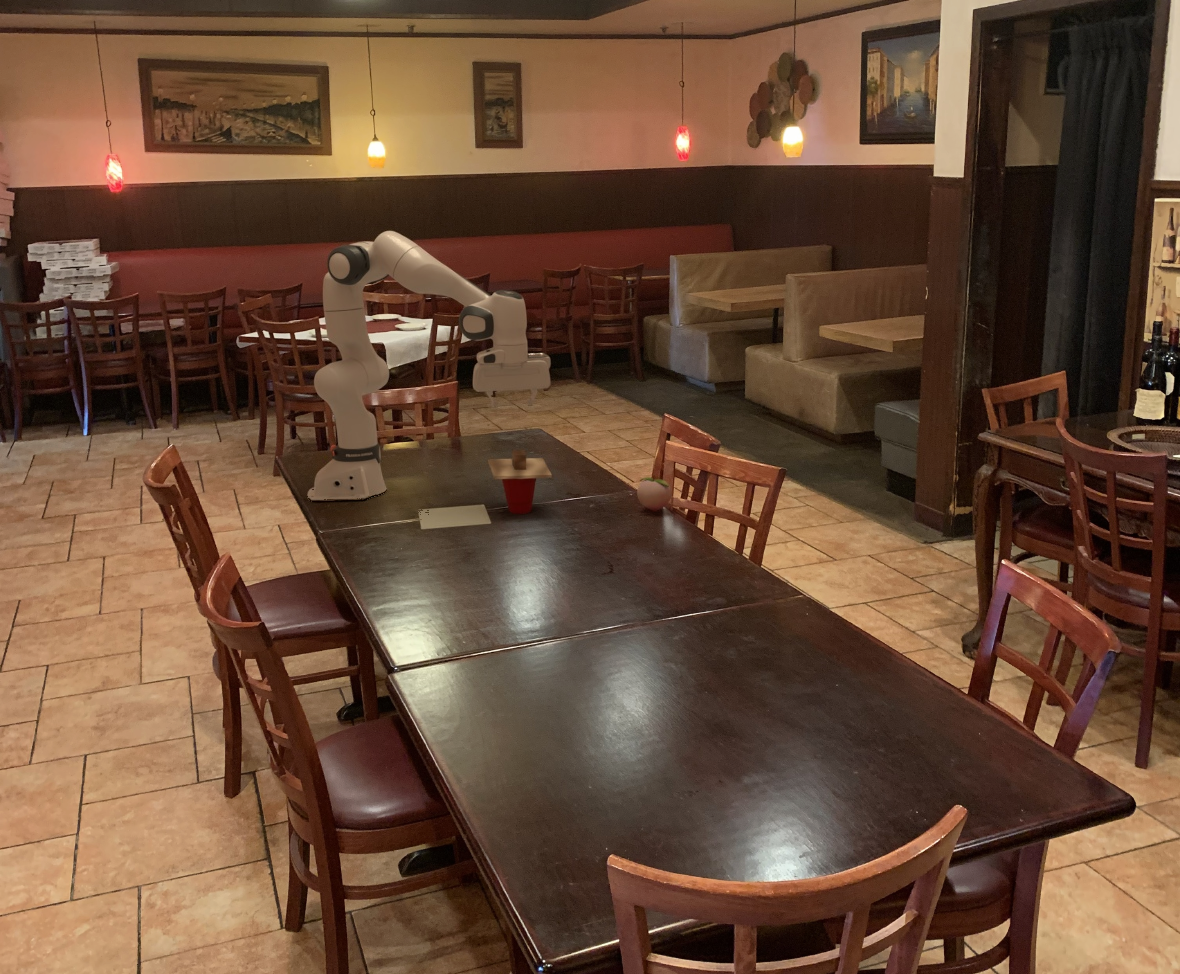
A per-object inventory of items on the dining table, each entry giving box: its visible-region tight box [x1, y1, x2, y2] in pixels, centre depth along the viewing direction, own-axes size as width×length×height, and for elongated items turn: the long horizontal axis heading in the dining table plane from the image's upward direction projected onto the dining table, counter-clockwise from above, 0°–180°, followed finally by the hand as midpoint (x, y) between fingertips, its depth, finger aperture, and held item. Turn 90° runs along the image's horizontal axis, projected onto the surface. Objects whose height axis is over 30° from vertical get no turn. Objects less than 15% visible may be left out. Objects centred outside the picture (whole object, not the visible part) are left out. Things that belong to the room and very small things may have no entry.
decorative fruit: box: [636, 474, 673, 512], centre depth 294 cm, size 9×8×10 cm
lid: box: [487, 449, 553, 480], centre depth 293 cm, size 15×15×5 cm
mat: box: [418, 504, 492, 530], centre depth 294 cm, size 18×18×1 cm
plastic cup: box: [501, 478, 538, 515], centre depth 296 cm, size 11×11×12 cm
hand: (512, 406), depth 291 cm, fingers open, 8 cm apart
